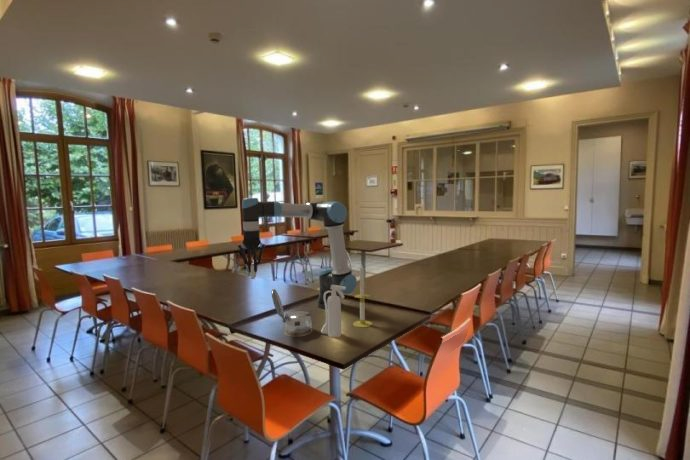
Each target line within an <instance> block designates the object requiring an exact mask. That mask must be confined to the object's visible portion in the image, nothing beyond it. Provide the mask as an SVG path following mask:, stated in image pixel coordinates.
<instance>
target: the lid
mask: <svg viewBox="0 0 690 460" xmlns="http://www.w3.org/2000/svg"><path fill="white" fill-rule="evenodd" d="M271 298H272V301H273V306H274V309H275V310H276V313H277V315H278V316H279V317H280V318H281V319H282V320H283V318H284V317H285V315H284V314H285V313H284V312H285V311H284V307H283V303H282V300H281V298H280V295H279V294H278V291H277V290H276V288H274V289H272V290H271Z"/></svg>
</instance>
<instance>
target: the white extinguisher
mask: <svg viewBox="0 0 690 460" xmlns="http://www.w3.org/2000/svg"><path fill="white" fill-rule="evenodd" d="M330 289H332V291H327V292H325V293H324V303H325V309H324V311H325V322H324V324H323V326H322V328H321V330H320V333H322V334H324V335H327V336H328V337H330V338H339V337H341V336H342V312H341V311H342V309H341V308H342V305H341V301H342V300H343V299H345V294H343V293H342V291H341V290H345V289H346V287H344V286H338V285H331V288H330ZM336 291H337V292H338V293H339V295H340V297H339V296H337V295H336ZM327 293H331V296H329V297H328V300H327V303H326V299H325V297H326V294H327ZM340 298H341V299H340Z"/></svg>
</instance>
